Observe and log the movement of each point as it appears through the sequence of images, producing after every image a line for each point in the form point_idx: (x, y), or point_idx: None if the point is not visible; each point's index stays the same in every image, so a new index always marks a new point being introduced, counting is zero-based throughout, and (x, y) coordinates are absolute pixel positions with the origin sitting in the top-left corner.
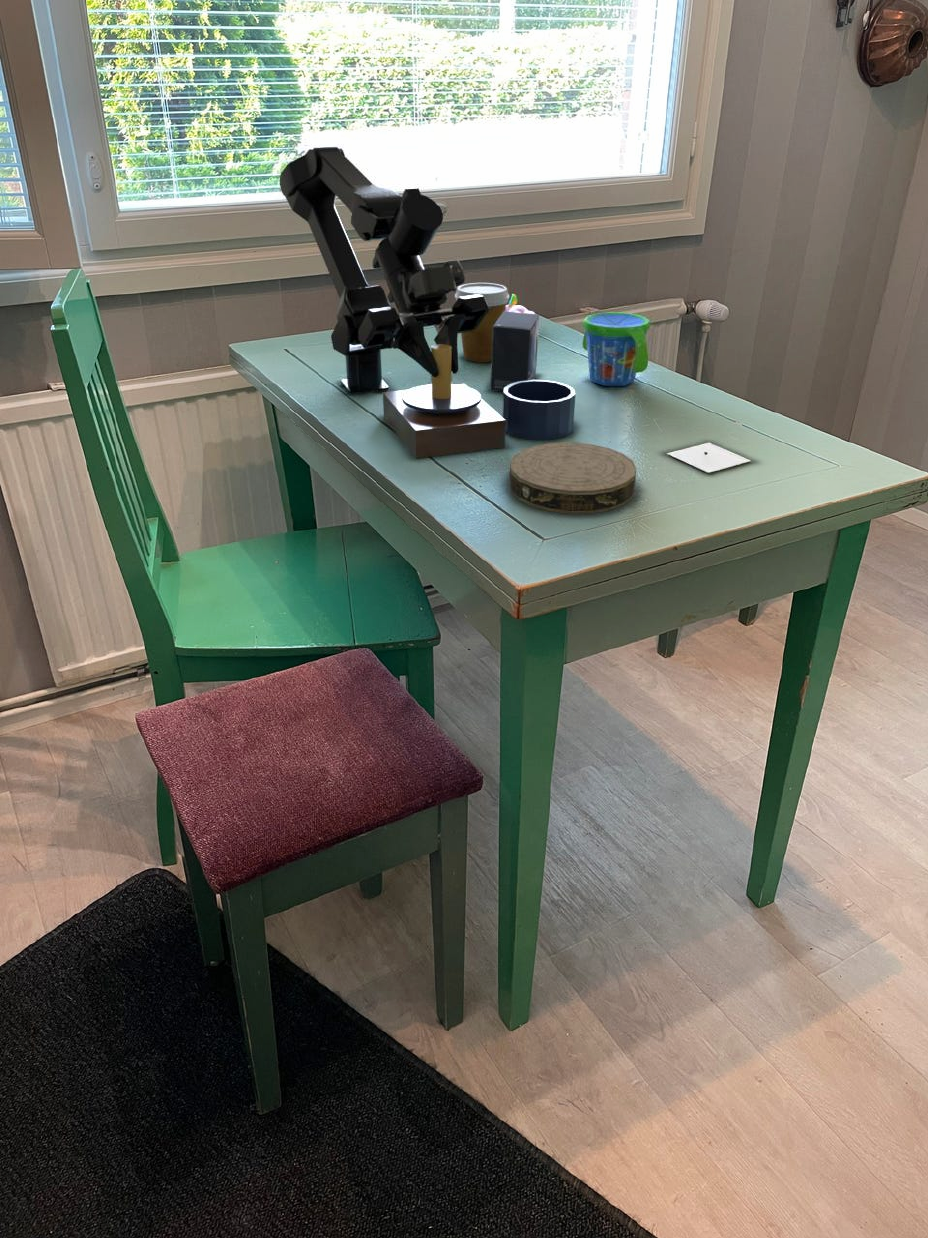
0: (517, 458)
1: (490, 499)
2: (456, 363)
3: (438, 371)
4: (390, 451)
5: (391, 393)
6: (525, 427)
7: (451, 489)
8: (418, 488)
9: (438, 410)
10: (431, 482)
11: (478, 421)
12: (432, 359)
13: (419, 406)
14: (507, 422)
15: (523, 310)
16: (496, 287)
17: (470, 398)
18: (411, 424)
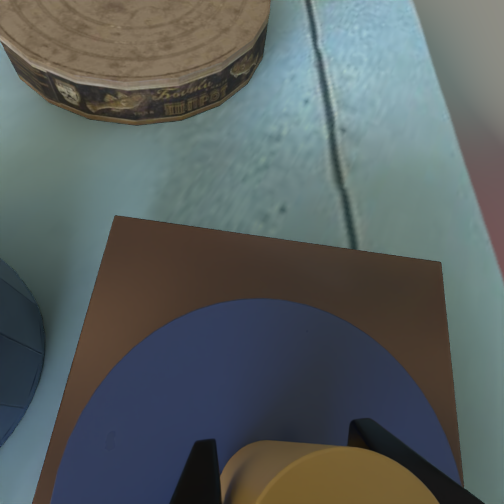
0: (224, 47)
1: (312, 54)
2: (198, 471)
3: (357, 425)
4: (456, 379)
5: None
6: (13, 276)
7: (368, 115)
8: (432, 146)
9: (345, 320)
10: (398, 158)
11: (210, 243)
12: (428, 484)
13: (413, 389)
14: (30, 354)
15: None
16: None
17: (152, 395)
18: (443, 321)
